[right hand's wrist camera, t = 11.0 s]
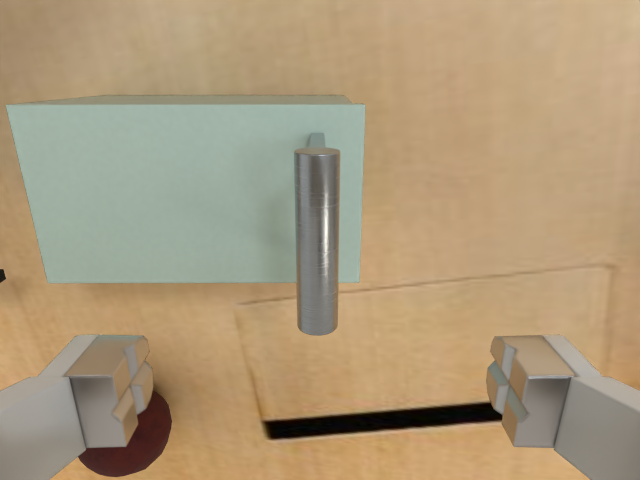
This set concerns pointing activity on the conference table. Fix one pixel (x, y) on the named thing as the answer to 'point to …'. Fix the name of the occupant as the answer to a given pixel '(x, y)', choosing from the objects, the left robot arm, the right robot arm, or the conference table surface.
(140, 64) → the conference table surface
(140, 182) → the lid
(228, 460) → the conference table surface
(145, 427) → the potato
